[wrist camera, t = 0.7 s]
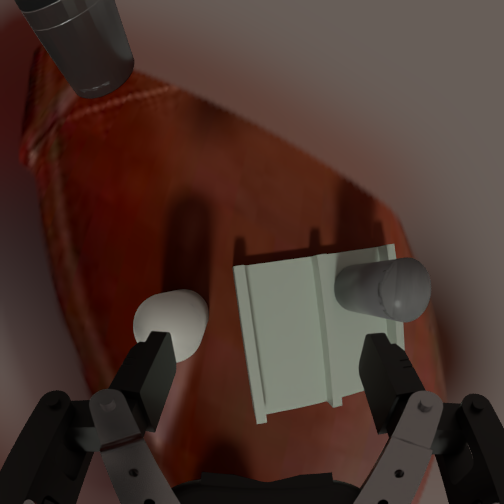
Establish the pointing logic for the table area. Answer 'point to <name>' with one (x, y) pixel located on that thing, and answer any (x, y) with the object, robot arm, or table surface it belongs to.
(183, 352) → the white cylinder
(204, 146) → the table surface
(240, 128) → the table surface
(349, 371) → the divided tray
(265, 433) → the table surface
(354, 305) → the grey cylinder
